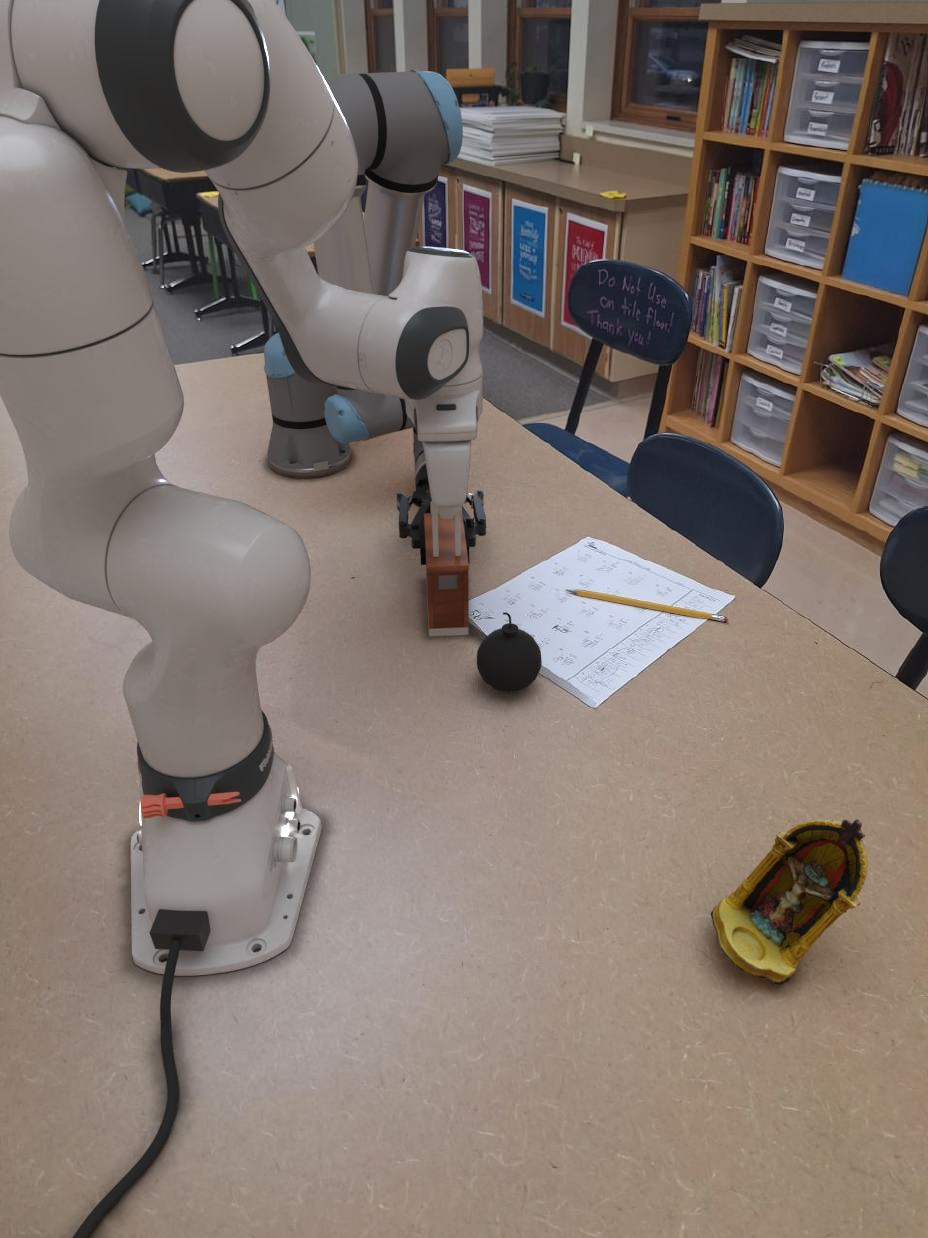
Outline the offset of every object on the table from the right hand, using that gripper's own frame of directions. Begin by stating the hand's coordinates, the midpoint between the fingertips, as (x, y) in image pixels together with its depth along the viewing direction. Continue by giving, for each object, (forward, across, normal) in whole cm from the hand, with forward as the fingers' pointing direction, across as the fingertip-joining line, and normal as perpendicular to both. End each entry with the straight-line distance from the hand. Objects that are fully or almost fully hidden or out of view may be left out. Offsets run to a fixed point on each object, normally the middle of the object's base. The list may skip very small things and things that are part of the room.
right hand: (444, 555), depth 118 cm
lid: (+3, 0, +4) cm, 5 cm away
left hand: (+7, 0, +12) cm, 14 cm away
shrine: (+58, -26, -7) cm, 64 cm away
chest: (+2, 0, -7) cm, 7 cm away
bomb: (+20, -7, -7) cm, 22 cm away
